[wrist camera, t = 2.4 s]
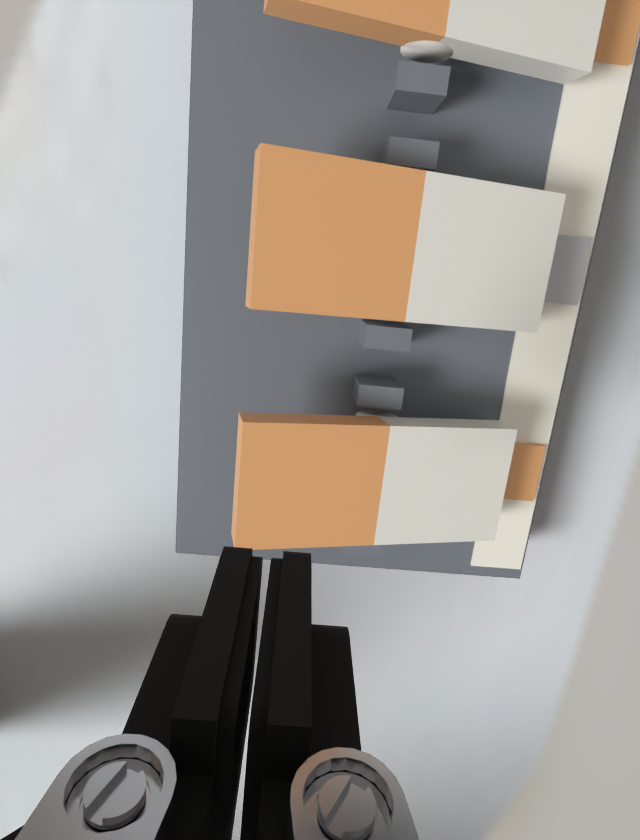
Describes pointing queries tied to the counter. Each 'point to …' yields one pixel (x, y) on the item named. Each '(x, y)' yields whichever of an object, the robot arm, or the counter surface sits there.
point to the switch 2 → (397, 243)
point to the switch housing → (369, 338)
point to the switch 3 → (367, 479)
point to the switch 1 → (468, 30)
